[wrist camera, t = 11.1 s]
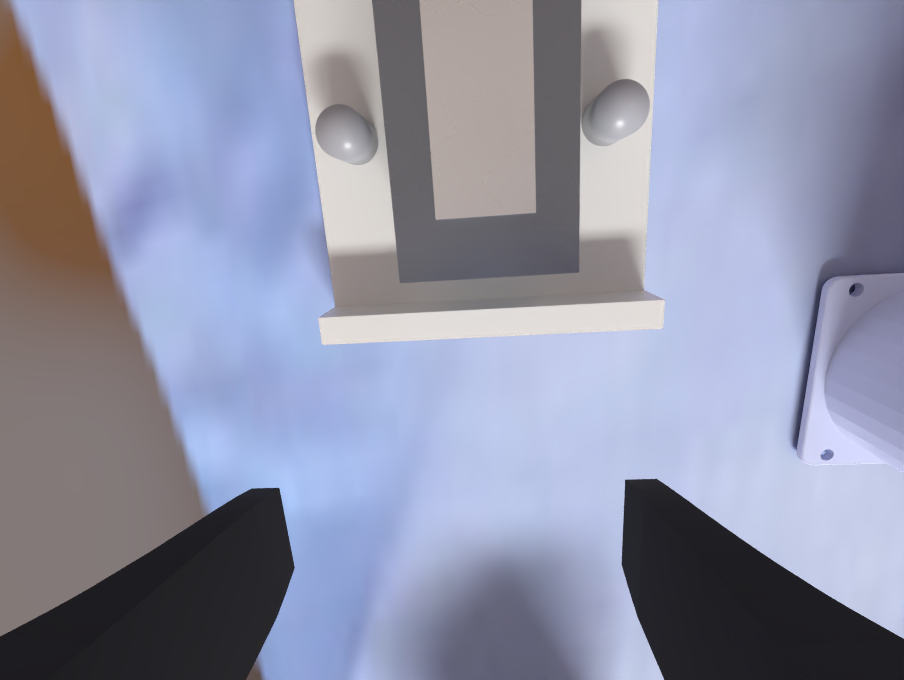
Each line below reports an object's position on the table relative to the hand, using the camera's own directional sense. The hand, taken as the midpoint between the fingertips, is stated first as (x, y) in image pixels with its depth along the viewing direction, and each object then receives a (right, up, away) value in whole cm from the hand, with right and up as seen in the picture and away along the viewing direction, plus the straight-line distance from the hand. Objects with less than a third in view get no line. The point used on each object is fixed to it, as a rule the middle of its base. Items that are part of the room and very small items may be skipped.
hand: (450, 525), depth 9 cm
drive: (+1, +11, +7) cm, 13 cm away
